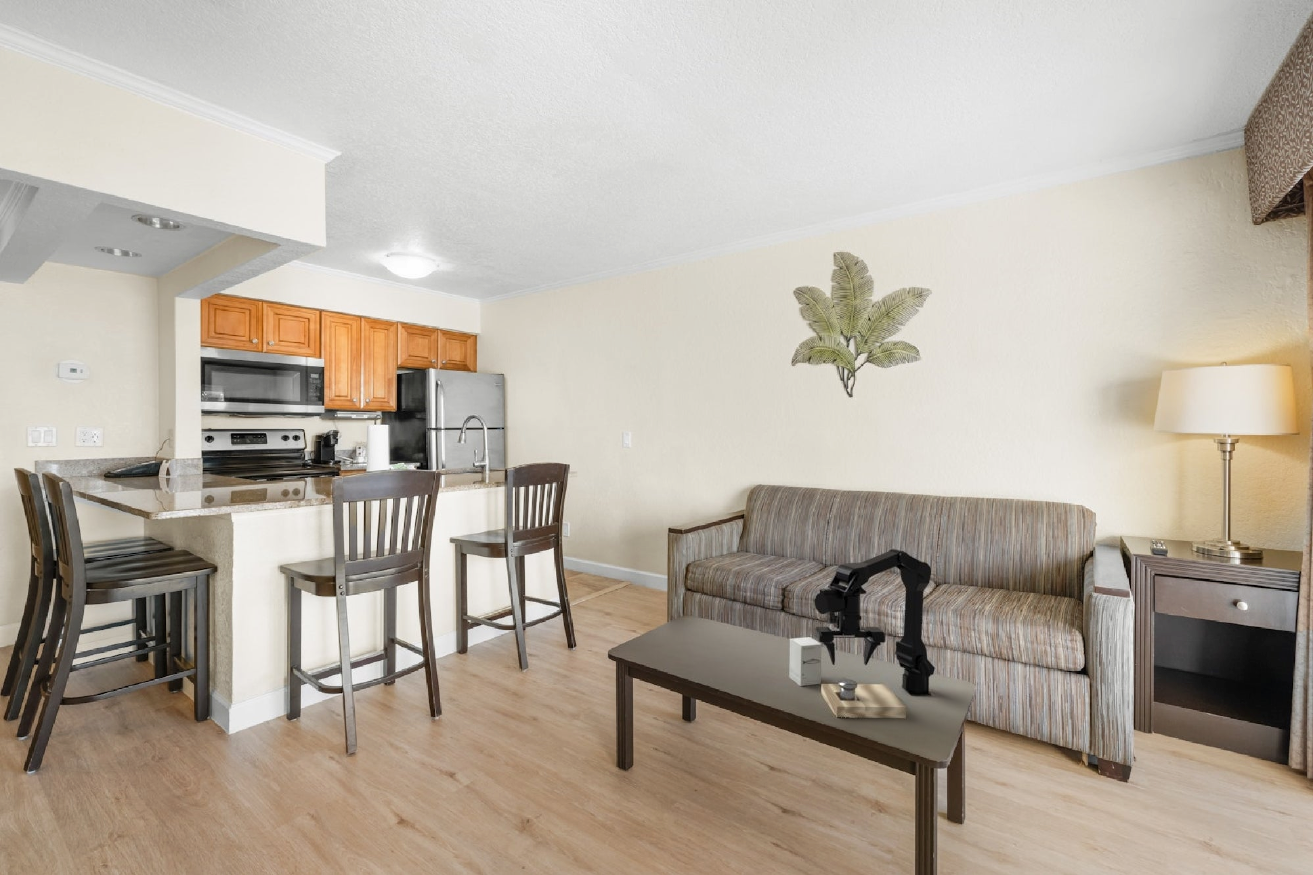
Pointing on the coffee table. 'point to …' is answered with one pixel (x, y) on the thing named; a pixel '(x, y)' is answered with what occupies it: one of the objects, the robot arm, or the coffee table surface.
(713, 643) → the coffee table surface
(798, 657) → the supplement box
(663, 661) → the coffee table surface
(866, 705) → the plate
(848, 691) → the flared metal knob
